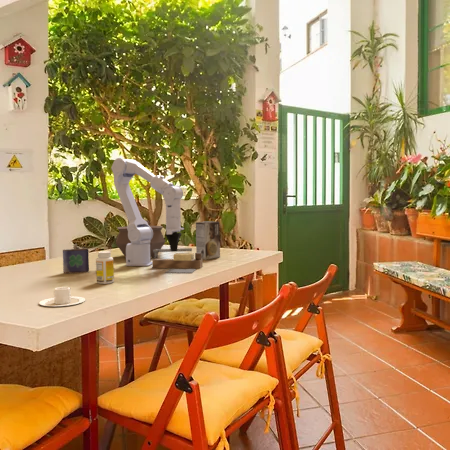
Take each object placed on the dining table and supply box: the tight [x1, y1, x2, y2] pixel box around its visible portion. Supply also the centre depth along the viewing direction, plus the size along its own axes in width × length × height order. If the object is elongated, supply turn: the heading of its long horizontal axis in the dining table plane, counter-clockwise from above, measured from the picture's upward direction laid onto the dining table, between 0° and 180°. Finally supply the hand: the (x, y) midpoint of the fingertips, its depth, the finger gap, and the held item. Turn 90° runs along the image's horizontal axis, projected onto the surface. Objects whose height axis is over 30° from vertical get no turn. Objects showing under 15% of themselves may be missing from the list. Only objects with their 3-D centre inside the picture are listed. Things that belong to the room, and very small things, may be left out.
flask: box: [62, 243, 90, 274], centre depth 186 cm, size 9×3×11 cm, turn 109°
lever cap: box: [172, 252, 195, 261], centre depth 194 cm, size 7×5×2 cm
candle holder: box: [38, 286, 86, 308], centre depth 135 cm, size 12×12×4 cm
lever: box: [153, 247, 193, 259], centre depth 197 cm, size 15×2×4 cm, turn 99°
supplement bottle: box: [95, 250, 115, 285], centre depth 163 cm, size 6×6×10 cm
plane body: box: [151, 252, 204, 269], centre depth 195 cm, size 19×4×6 cm, turn 82°
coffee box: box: [195, 220, 221, 260], centre depth 221 cm, size 9×6×16 cm
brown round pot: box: [115, 219, 166, 259], centre depth 228 cm, size 24×24×16 cm
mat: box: [164, 268, 197, 274], centre depth 185 cm, size 10×8×1 cm
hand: (173, 251), depth 196 cm, fingers closed, pressing on lever
